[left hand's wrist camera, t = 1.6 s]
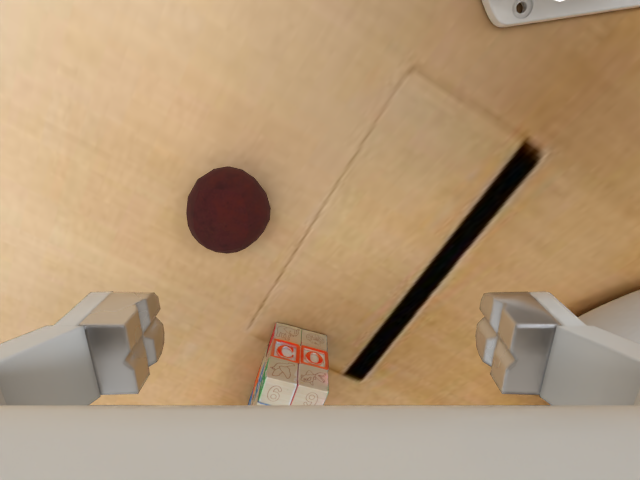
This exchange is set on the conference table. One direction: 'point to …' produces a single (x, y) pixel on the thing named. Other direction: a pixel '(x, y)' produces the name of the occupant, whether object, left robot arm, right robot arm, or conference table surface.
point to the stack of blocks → (293, 369)
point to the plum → (227, 210)
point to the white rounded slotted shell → (617, 316)
